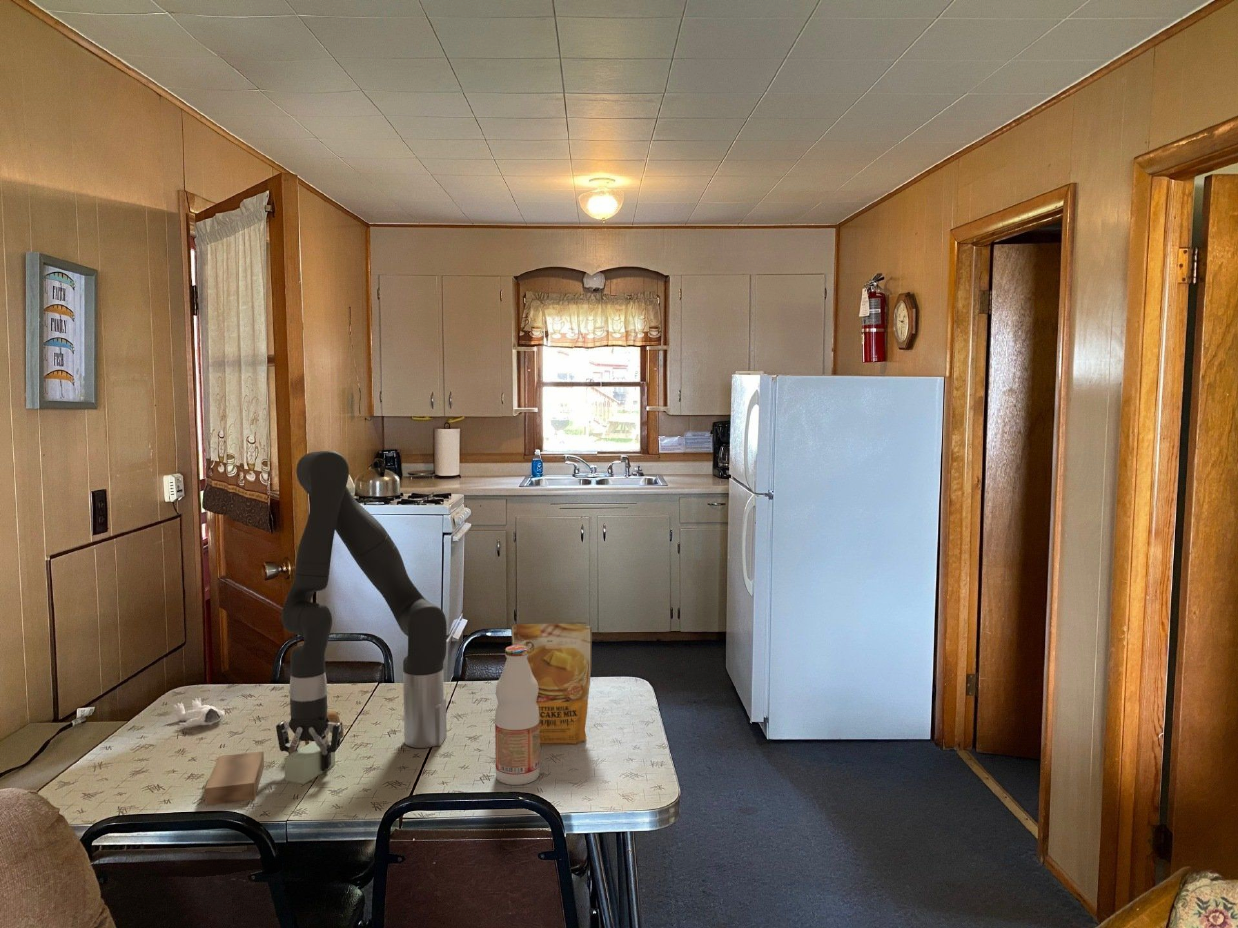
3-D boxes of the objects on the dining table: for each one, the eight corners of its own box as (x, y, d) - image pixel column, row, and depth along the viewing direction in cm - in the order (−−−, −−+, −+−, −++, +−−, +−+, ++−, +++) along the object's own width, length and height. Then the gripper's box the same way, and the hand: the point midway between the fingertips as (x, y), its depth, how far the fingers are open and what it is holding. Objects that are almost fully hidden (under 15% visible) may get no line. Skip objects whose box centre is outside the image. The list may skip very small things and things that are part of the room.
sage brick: (335, 764, 190) (334, 742, 190) (304, 783, 181) (303, 760, 181) (316, 761, 192) (316, 739, 192) (284, 780, 183) (284, 757, 182)
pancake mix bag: (513, 734, 208) (512, 620, 205) (592, 733, 208) (592, 619, 206) (510, 745, 201) (509, 627, 199) (592, 745, 201) (591, 627, 199)
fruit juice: (506, 789, 178) (505, 657, 176) (488, 773, 186) (487, 645, 184) (547, 779, 183) (546, 650, 181) (527, 763, 191) (527, 639, 189)
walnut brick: (264, 769, 189) (263, 751, 189) (254, 801, 174) (254, 782, 173) (219, 773, 186) (218, 756, 186) (205, 807, 171) (205, 788, 171)
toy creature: (209, 693, 223) (232, 692, 216) (213, 717, 223) (236, 716, 216) (162, 706, 214) (184, 706, 207) (165, 731, 213) (188, 731, 206)
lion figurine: (312, 757, 194) (311, 718, 194) (291, 754, 196) (290, 716, 195) (349, 733, 208) (348, 696, 208) (330, 730, 210) (329, 694, 209)
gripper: (347, 688, 189) (349, 762, 190) (283, 687, 189) (285, 761, 190) (335, 700, 181) (336, 777, 182) (267, 698, 182) (270, 776, 183)
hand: (310, 769), depth 186 cm, fingers closed on sage brick, 6 cm apart
